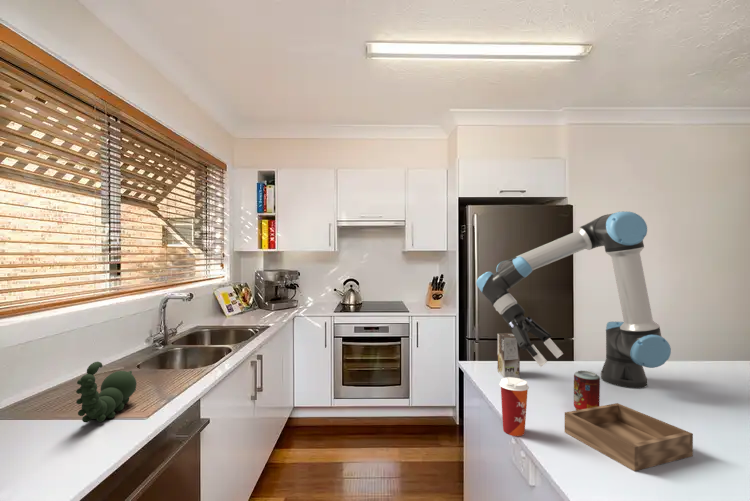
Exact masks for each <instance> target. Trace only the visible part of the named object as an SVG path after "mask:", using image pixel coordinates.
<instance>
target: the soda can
mask: <svg viewBox="0 0 750 501" xmlns="http://www.w3.org/2000/svg"><path fill="white" fill-rule="evenodd" d="M600 380H601V376H599V374H597V373H596V372H593V371H589V370H578V371H576V372H574V374H573V407H574V408H575V410H581V409H587V408H593V407H598V406H601V405H600V400H601V399H600V395H601V394H600V388H601V385H600V383H601V381H600Z"/></svg>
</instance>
